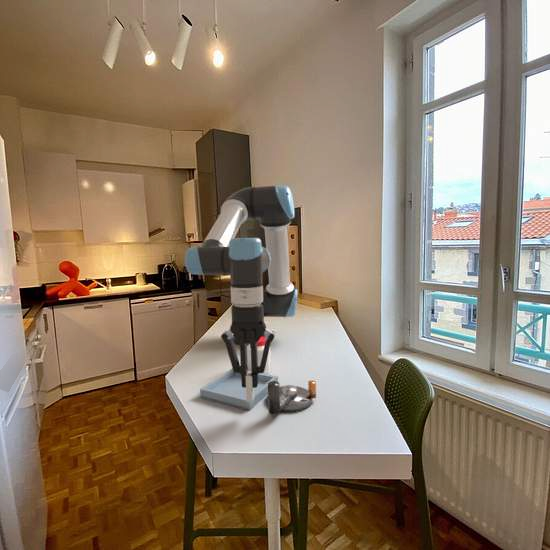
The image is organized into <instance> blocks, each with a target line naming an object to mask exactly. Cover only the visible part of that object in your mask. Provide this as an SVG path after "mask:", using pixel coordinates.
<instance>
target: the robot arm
mask: <svg viewBox="0 0 550 550" xmlns="http://www.w3.org/2000/svg"><path fill="white" fill-rule="evenodd" d="M294 204H295V203H294V199H293V194H292V190H291V189H290V187H289V186H287V185H267V186H266V185H264V186H248V187H245V188H244V187H243V188H241V189H239V190H237V191H236V192H234V193H232V194H231V195H229V197H227V198H226V199H225V201H224V202H223V203H222V205H221V207H220V214H219V215H218V217H217V219H216V221H215V222H214V224H213V226H212V227H211V229H210V230H209V231H208V233H207V236H206V237H205V239H204V241H203V242H202V244H200V246H198V245H197V246H191V247H189V248H187V250H186V251H185V254H184V265H185V269H186V271H187V272H188V273H189V274H191V275H200V276H201V275H202V276H208V275H209V276H210V275H211V276H212V275H213V276H214V275H229V277H230V302H231V304H232V306H231V311H230V312H231V325H230V327H229V329H227V330H225V331H223V332H222V334H221V336H220V338H221V339H222V341H223V342H224V344H225V346H226V351H227V353H228V357H229V360H230V364H231V369H232V368H233V371H234V372H235V373H240V374H241V381H242V387H243V388H246V402H253V400H254V388H257V385H258V374H259V373H263V372H264V370H265V366H266V362H267V357H268V353H269V348H270V349H271V343H272V342H273V340H274V339H275V336H276V332H275V331H274V330H273V331H271V330H269V329H268V328H267V326H266V323H265V319H264V318H291V317H294V316H295V315H296V311H297V302H298V293H299V290H298V289H297V288H295V285H294V284H293V283H292V282H291V275H290V271H291V270H290V257H289V256H290V255H289V239H288V237H289V236H288V235H289V234H288V228H289V226H290V224H291V223H292V220H293V219H294V218H295V206H294ZM248 220H259V225H260V227H261V228H262V229H264V237H265V238H264V239H265V247H264V246H262V240H261V238H259V237H237V238H236V236H237V233H238V232H239V229H240V227H241V226H242V224H244V223H245V222H246V221H248ZM266 271H267V274H268V284H267V285H266V286H265V289H264V285H263V283H264V282H263V273H265V272H266ZM261 337H264V338H265V339H266V342H265V346H264V350H263V355H262V359H261V364H260V366H258V351H257V343H258V340H259V339H260V338H261ZM235 344H236V345H238V346H239V357H238V354H237V349H236V346H235ZM249 344H250V348H251V369H252V372H247V370H248V368H247V346H248V345H249ZM239 359H240V360H239Z"/></svg>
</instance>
